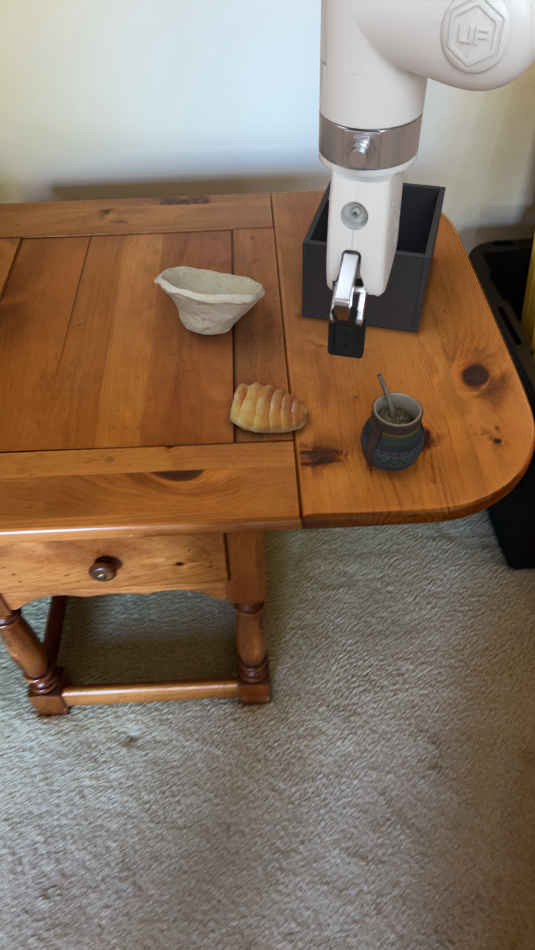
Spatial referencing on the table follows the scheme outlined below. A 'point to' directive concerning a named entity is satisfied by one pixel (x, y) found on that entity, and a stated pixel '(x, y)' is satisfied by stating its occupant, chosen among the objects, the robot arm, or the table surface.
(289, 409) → the pastry
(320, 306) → the trash bin
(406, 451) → the mate gourd
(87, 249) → the table surface
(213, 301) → the bowl
